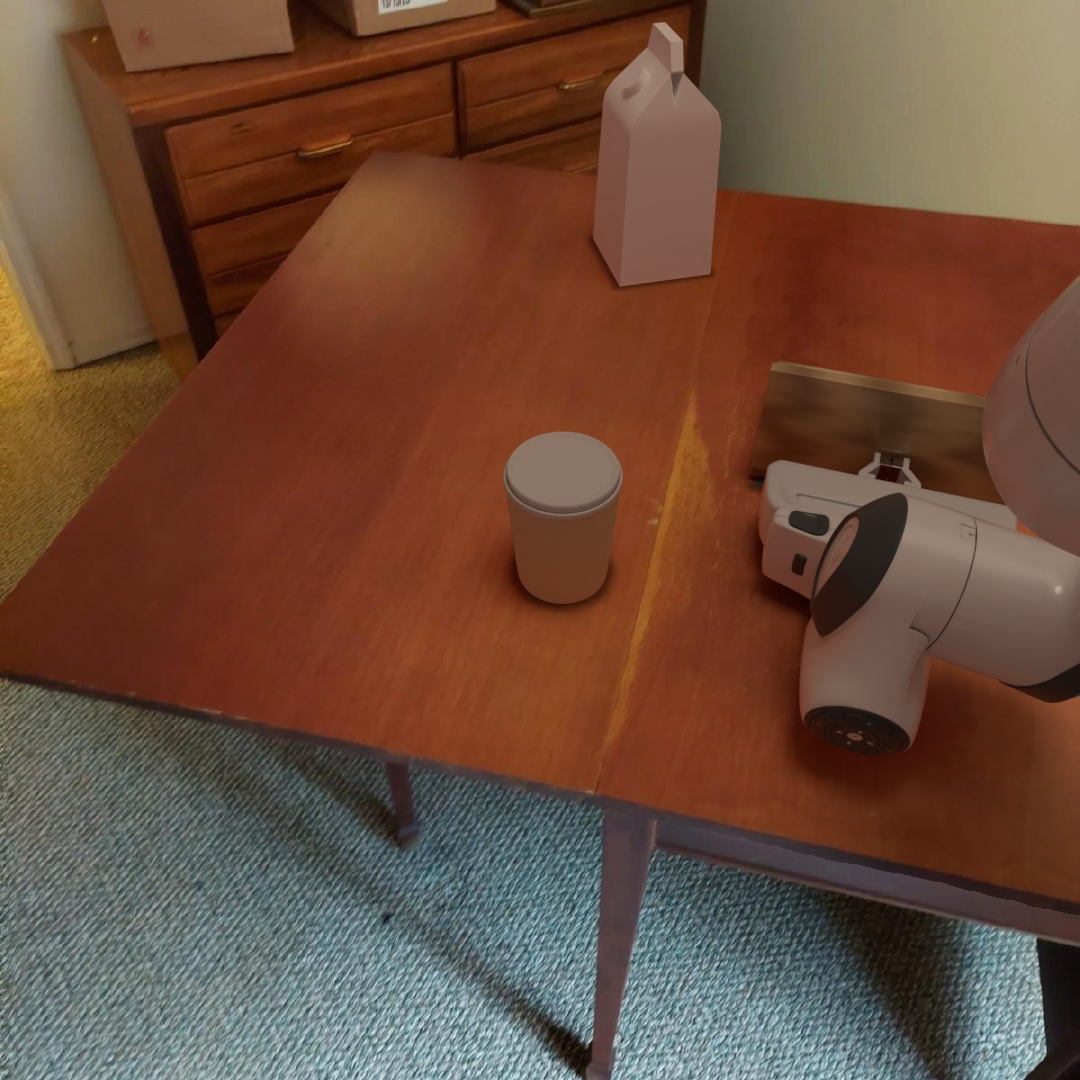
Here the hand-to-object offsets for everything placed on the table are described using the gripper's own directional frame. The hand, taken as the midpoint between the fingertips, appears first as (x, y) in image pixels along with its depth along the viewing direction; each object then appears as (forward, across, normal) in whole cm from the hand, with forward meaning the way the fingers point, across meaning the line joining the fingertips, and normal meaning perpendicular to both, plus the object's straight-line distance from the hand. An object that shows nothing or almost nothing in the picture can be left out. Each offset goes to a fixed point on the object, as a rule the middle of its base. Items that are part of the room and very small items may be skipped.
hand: (890, 460), depth 84 cm
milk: (+37, +31, +6) cm, 49 cm away
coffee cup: (-17, +25, +6) cm, 30 cm away
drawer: (+7, +1, +6) cm, 9 cm away
